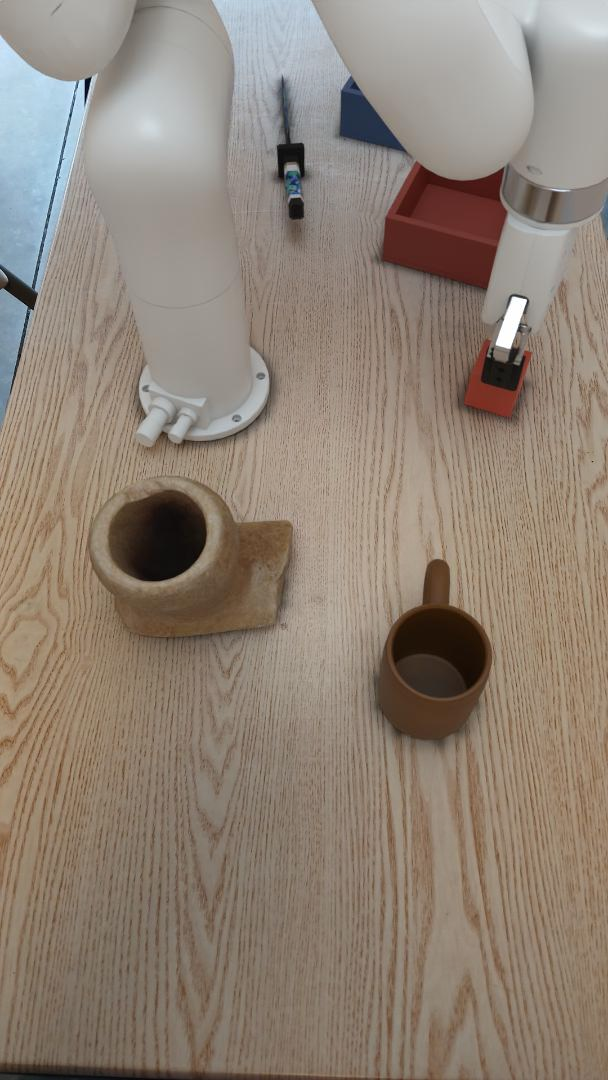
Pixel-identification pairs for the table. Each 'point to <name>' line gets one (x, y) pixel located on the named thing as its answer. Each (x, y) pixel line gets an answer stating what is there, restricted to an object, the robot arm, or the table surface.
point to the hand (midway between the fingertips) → (514, 344)
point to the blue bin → (363, 119)
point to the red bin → (446, 225)
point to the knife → (291, 168)
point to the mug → (433, 663)
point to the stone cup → (187, 560)
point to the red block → (492, 388)
